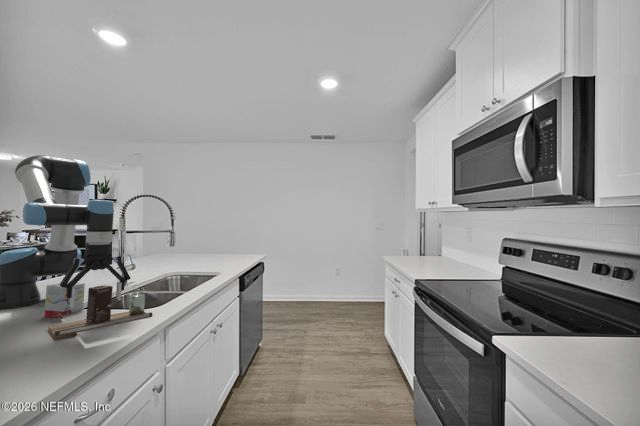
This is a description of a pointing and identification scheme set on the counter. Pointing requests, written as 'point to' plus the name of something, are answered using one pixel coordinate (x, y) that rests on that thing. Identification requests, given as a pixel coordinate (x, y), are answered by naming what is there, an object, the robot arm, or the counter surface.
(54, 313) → the ink box
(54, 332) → the shelf board
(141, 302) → the green glass jar
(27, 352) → the counter surface
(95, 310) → the box
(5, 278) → the robot arm
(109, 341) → the counter surface
